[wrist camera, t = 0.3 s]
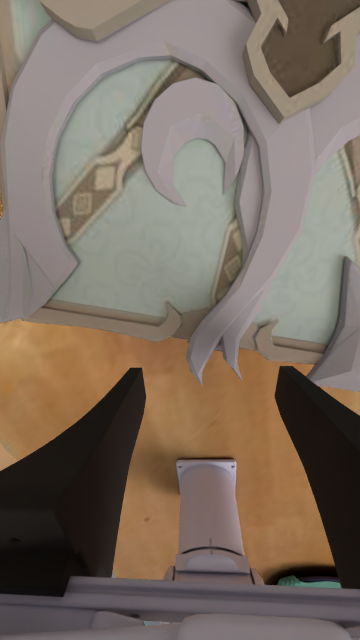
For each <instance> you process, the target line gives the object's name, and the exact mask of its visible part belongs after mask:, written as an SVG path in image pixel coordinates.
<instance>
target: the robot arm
mask: <svg viewBox="0 0 360 640" xmlns="http://www.w3.org/2000/svg"><path fill="white" fill-rule="evenodd" d="M275 399H276V403H277V406H278V409H279V412H280V415H281V417H282V420H283V422H284V424H285V426H286V429H287V431H288V433H289V435H290V437H291V440H292V442H293V444H294V446H295V448H296V450H297V453H298V455H299V457H300V459H301V462H302V464H303V466H304V469H305V472H306V474H307V477H308V480H309V483H310V486H311V489H312V491H313V495H314V498H315V501H316V504H317V507H318V510H319V513H320V516H321V519H322V522H323V526H324V529H325V532H326V535H327V539H328V542H329V545H330V549H331V552H332V556H333V559H334V563H335V566H336V570H337V573H338V577H339V581H340V584H341V588H321V587H299V586H278V585H265V584H264V581H263V579H262V577H261V576H260V575H259V574H258V572H257V570H256V569H254V568H250V567H249V561H248V557H247V556H244V549H243V543H242V536H241V530H240V523H239V517H238V510H237V504H236V497H235V485H236V461H235V460H233V459H218V460H177V461H176V466H177V474H178V481H179V488H180V495H181V497H180V524H179V550H178V554H176V564H175V566H170V567H169V568H168V570H167V572H166V573H165V575H164V578H163V580H148V579H126V578H111V576H112V570H113V562H114V555H115V548H116V541H117V535H118V528H119V522H120V515H121V509H122V503H123V498H124V492H125V486H126V481H127V475H128V470H129V465H130V461H131V457H132V453H133V450H134V446H135V443H136V439H137V436H138V432H139V429H140V425H141V421H142V418H143V414H144V408H145V401H146V393H145V386H144V379H143V373H142V368H130V369H129V370H128V371H127V372H126V373H125V375H124V376H123V377H122V378H121V379H120V380H119V381H118V383H117V384H116V385H115V386H114V387H113V388H112V389H111V390H110V391H109V392H108V393H107V394H106V396H105V397H104V398H103V399H102V400H101V401H100V402H98V403H97V404H96V405H95V406H94V407H93V408H92V409H91V410H90V411H89V412H88V413H87V414H86V415H85V416H83V417H82V418H81V419H80V420H79V421H77V422H76V423H75V424H74V425H72V426H71V427H70V428H68V429H67V430H65V431H64V432H63V433H61V434H60V435H59V436H57V437H56V438H55V439H53V440H52V441H50V442H49V443H47V444H46V445H44V446H43V447H41V448H39V449H38V450H36V451H35V452H33V453H31V454H30V455H28V456H26V457H25V458H23V459H21V460H19V461H18V462H16V463H14V464H12V465H10V466H9V467H7V468H5V469H3V470H2V471H0V640H360V416H359V415H358V414H356V413H355V412H353V411H352V410H350V409H349V408H347V407H346V406H344V405H343V404H341V403H340V402H339V401H337V400H336V399H334V398H333V397H332V396H330V395H329V394H328V393H326V392H325V391H324V390H322V389H321V388H320V387H318V386H317V385H316V384H314V383H313V382H312V381H311V380H309V379H308V378H307V377H306V376H304V375H303V374H302V373H301V372H299V371H298V370H297V369H295V368H294V367H293V366H280V369H279V374H278V380H277V386H276V391H275ZM143 621H159V625H150V626H145V624H144V622H143Z"/></svg>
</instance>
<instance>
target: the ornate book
mask: <svg viewBox="0 0 360 640" xmlns="http://www.w3.org/2000/svg"><path fill="white" fill-rule="evenodd" d="M0 193H1V199H2V205H3V211H4V212H3V215H2V218H1V219H0V323H2V322H6V321H12V320H16V319H20V318H21V319H22V321H28V322H35V323H45V324H56V325H68V326H79V327H87V328H94V329H100V330H105V331H110V332H115V333H120V334H124V335H128V336H132V337H136V338H140V339H144V340H149V341H153V342H158V341H161V340H164V339H166V338H169V337H174V338H180V339H187V340H190V341H188V342H189V346H188V351H187V360H188V363H189V367H190V370H191V372H192V373H193V374H194V376H195V377H196V378H197V379H198V381H199V382H200V383H201V385H202V370H203V368H204V367H205V365H206V363H207V361H208V359H209V358H210V356H211V354H212V352H213V351H214V350H217V351H223V357H224V359H225V360H226V362H227V363H228V364H229V365H230V367H231V368H232V369H233V370H234V371H235V373H236V374H237V375H238V376H239V377H240V379H241V380H242V378H241V375H240V371H239V368H238V364H237V358H238V350H239V348H242V349H248V350H254V351H257V352H258V353H259V354H261V355H262V356H263V357H264V358H266V359H267V360H270V361H281V362H293V363H304V364H315V366H314V367H313V368H312V370H311V371H310V372H309V373H308V375H307V376H306V377H307V378H308V379H309V380H311V381H312V382H313V383H314V384H316V385H317V386H324V387H331V388H338V389H345V390H352V391H359V392H360V0H0Z"/></svg>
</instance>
